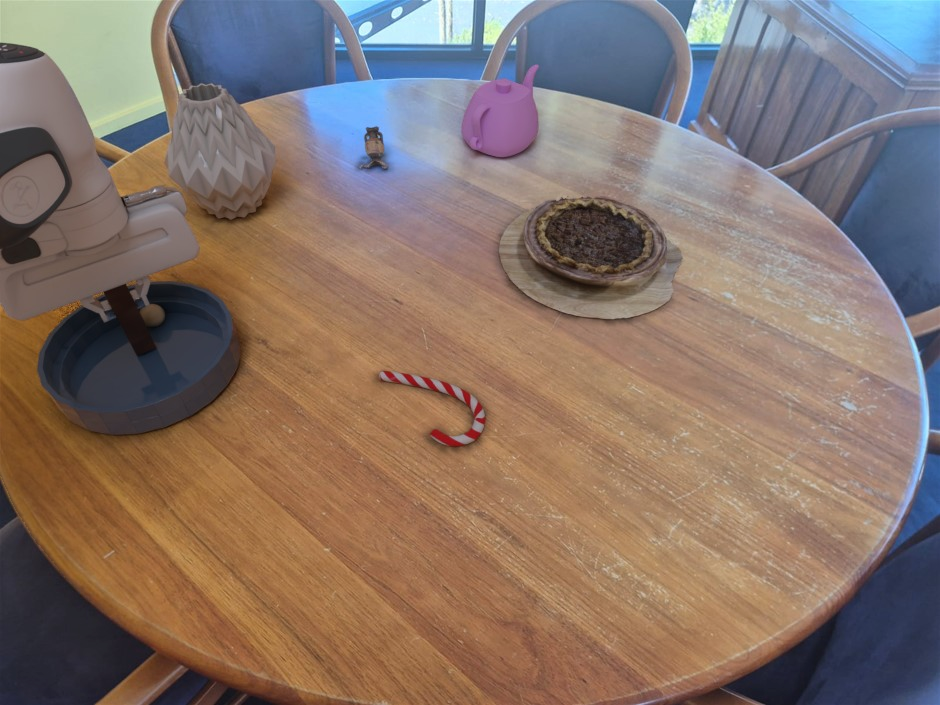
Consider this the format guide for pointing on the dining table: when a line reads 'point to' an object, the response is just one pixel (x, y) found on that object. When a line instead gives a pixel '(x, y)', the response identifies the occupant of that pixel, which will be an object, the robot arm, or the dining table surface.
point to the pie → (590, 257)
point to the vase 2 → (374, 147)
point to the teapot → (502, 117)
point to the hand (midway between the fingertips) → (125, 311)
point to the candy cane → (450, 390)
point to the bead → (152, 315)
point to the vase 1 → (219, 153)
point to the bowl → (141, 363)
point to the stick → (130, 319)
